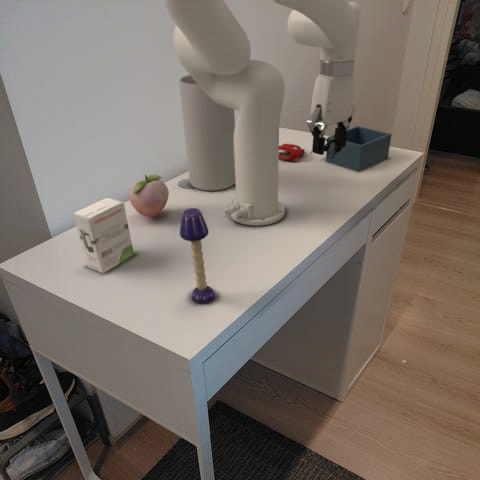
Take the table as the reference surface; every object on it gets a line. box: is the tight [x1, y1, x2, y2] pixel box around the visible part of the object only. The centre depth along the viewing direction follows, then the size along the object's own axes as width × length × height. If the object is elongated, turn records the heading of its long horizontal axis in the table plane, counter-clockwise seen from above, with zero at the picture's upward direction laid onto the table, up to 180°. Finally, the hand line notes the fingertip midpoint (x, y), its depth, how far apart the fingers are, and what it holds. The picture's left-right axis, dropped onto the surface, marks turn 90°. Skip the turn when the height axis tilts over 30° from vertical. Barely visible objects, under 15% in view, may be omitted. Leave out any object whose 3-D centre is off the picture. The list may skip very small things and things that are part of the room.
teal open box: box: [325, 125, 392, 172], centre depth 134 cm, size 13×11×7 cm
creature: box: [310, 133, 344, 162], centre depth 116 cm, size 8×5×8 cm
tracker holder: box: [279, 143, 305, 162], centre depth 139 cm, size 12×4×10 cm
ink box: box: [72, 197, 135, 274], centre depth 94 cm, size 9×5×12 cm, turn 143°
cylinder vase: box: [178, 74, 236, 192], centre depth 120 cm, size 12×12×25 cm
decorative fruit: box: [128, 174, 170, 218], centre depth 110 cm, size 9×8×10 cm
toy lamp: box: [179, 207, 216, 305], centre depth 81 cm, size 5×5×17 cm
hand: (328, 149), depth 117 cm, fingers closed on creature, 7 cm apart
